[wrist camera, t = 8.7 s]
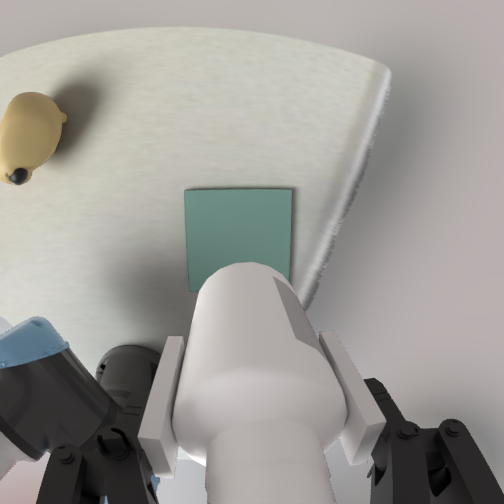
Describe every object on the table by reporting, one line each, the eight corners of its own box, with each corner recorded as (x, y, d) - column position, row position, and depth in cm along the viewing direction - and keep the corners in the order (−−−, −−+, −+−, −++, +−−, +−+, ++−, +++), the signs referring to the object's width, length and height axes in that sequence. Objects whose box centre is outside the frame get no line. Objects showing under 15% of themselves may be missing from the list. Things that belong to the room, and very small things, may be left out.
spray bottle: (249, 363, 22) (278, 604, 4) (176, 310, 20) (104, 584, 3) (315, 302, 21) (448, 547, 3) (242, 238, 19) (304, 584, 2)
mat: (287, 286, 40) (288, 289, 39) (190, 288, 39) (189, 291, 39) (290, 189, 37) (291, 189, 36) (185, 190, 36) (184, 190, 35)
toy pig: (11, 162, 32) (-35, 167, 22) (43, 90, 30) (0, 76, 20) (50, 191, 34) (4, 202, 24) (87, 113, 32) (45, 101, 22)
